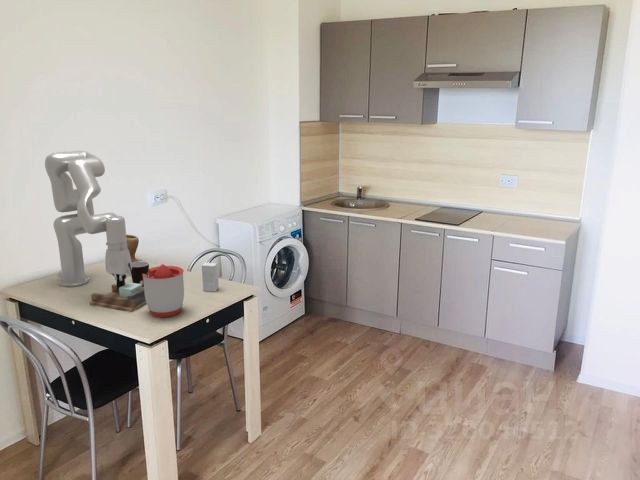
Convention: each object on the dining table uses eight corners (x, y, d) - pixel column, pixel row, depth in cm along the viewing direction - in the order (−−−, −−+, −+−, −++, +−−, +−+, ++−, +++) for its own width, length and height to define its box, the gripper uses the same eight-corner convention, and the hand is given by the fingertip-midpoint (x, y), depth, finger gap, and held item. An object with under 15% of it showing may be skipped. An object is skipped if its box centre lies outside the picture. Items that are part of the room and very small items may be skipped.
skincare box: (218, 288, 241) (217, 263, 238) (215, 291, 237) (214, 266, 234) (205, 287, 242) (204, 262, 239) (202, 291, 238) (201, 265, 235)
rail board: (89, 304, 221) (88, 290, 219) (116, 292, 235) (115, 278, 234) (131, 312, 214) (130, 297, 212) (156, 298, 228) (155, 284, 227)
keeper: (120, 301, 221) (118, 287, 219) (131, 295, 227) (130, 282, 226) (132, 303, 219) (130, 289, 217) (143, 297, 225) (142, 284, 224)
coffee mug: (144, 289, 240) (142, 267, 237) (127, 287, 241) (125, 266, 239) (157, 280, 251) (155, 260, 248) (140, 279, 252) (138, 258, 250)
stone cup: (145, 263, 277) (143, 235, 273) (124, 268, 267) (122, 239, 263) (127, 258, 285) (125, 230, 281) (107, 263, 276) (104, 235, 272)
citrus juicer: (150, 303, 223) (147, 257, 218) (191, 305, 221) (188, 259, 216) (134, 318, 208) (130, 269, 203) (177, 320, 206) (174, 271, 201)
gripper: (96, 246, 218) (100, 289, 222) (126, 250, 213) (130, 293, 217) (109, 242, 225) (113, 283, 229) (138, 245, 220) (142, 288, 224)
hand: (121, 288), depth 223 cm, fingers closed
